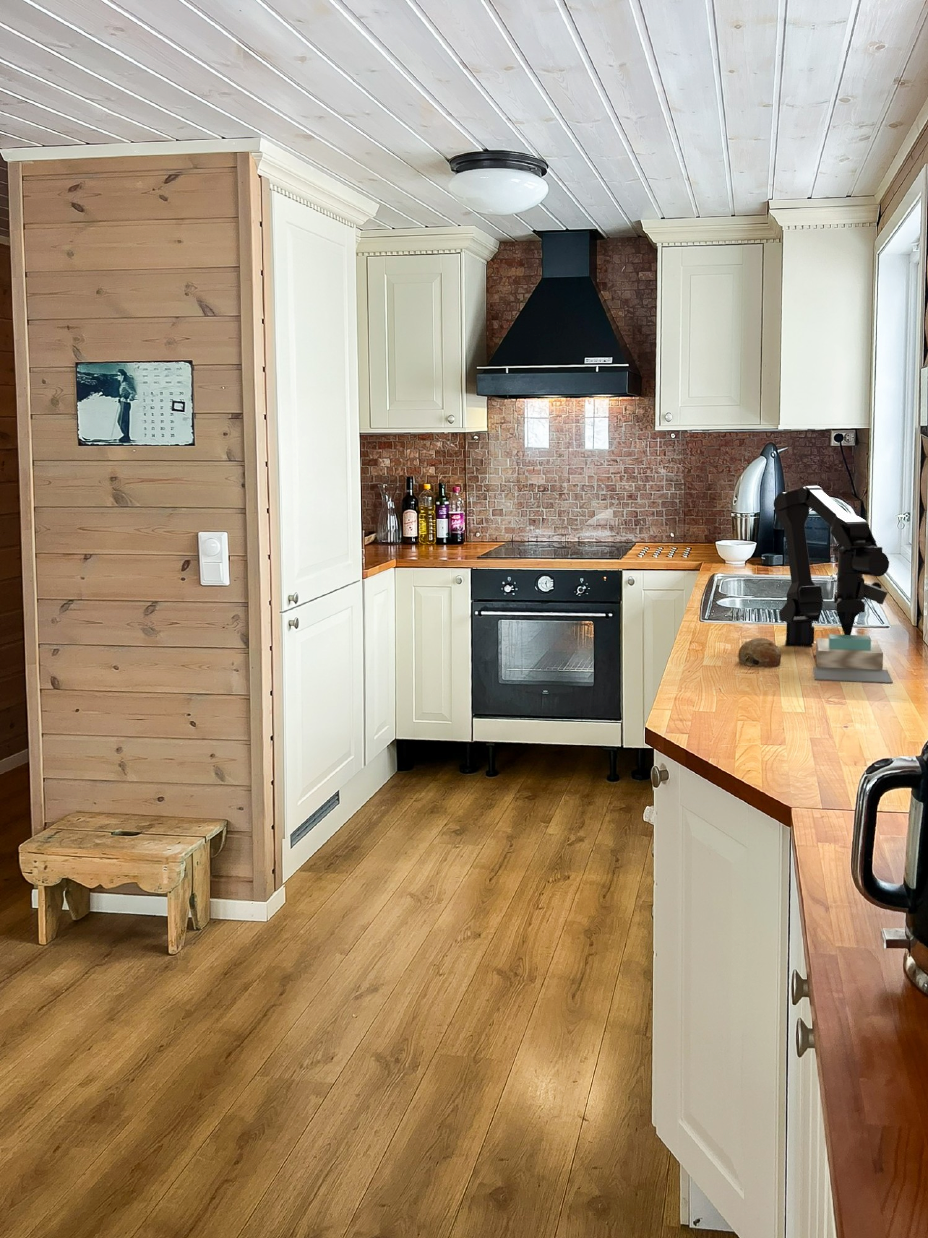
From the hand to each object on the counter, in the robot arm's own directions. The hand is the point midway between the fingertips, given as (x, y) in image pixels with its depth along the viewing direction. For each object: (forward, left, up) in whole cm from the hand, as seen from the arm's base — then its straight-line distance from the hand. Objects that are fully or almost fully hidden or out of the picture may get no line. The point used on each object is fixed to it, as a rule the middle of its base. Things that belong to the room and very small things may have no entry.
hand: (847, 637), depth 277 cm
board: (0, -6, -5) cm, 8 cm away
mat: (0, -23, -5) cm, 23 cm away
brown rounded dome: (-20, -12, -5) cm, 24 cm away
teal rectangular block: (0, -9, -1) cm, 9 cm away
